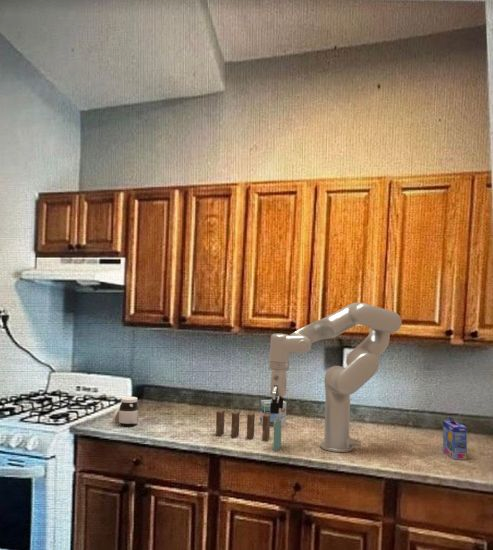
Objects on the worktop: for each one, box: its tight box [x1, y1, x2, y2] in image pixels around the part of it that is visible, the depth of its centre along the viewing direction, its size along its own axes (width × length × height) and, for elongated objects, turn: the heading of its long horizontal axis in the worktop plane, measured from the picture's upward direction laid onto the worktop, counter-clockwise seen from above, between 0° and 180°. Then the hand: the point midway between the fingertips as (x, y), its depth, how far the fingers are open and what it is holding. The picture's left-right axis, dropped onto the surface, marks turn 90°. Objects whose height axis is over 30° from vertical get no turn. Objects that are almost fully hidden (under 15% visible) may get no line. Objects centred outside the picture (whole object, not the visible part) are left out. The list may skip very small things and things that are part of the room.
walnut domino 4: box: [261, 413, 271, 442], centre depth 210 cm, size 2×5×10 cm, turn 167°
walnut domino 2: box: [230, 410, 240, 439], centre depth 213 cm, size 2×5×10 cm, turn 167°
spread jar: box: [112, 396, 139, 428], centre depth 227 cm, size 12×11×12 cm
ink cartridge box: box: [442, 416, 468, 461], centre depth 197 cm, size 10×6×14 cm, turn 2°
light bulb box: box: [259, 399, 288, 428], centre depth 234 cm, size 11×7×11 cm, turn 105°
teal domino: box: [272, 421, 282, 452], centre depth 198 cm, size 2×5×10 cm, turn 167°
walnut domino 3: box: [246, 411, 256, 441], centre depth 212 cm, size 2×5×10 cm, turn 167°
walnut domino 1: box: [215, 408, 226, 437], centre depth 215 cm, size 2×5×10 cm, turn 167°
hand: (276, 410), depth 198 cm, fingers open, 9 cm apart
